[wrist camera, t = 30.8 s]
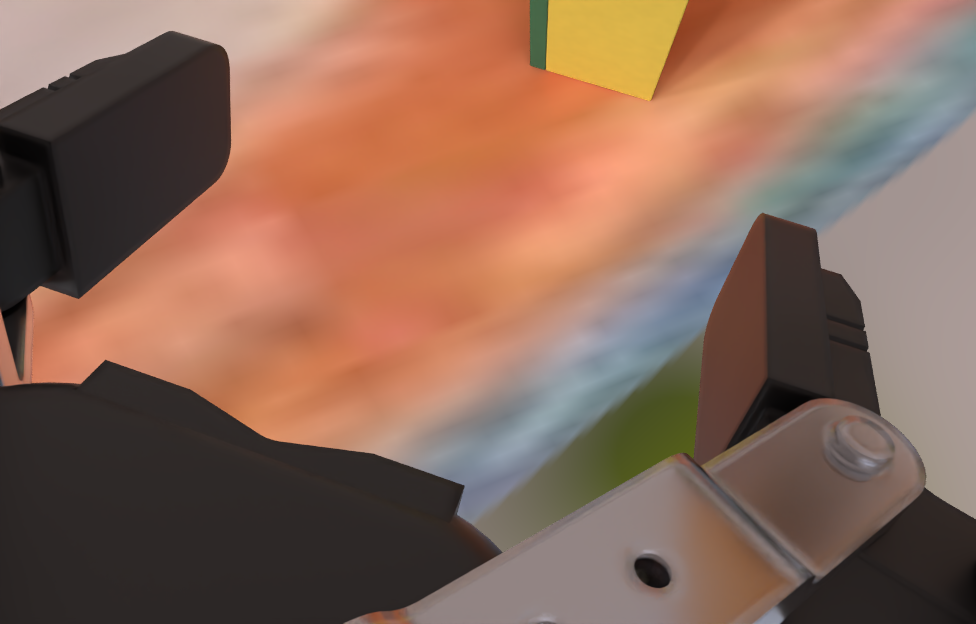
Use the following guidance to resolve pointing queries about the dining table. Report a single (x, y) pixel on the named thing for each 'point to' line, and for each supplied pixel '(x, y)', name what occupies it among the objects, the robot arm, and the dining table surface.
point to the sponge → (605, 40)
